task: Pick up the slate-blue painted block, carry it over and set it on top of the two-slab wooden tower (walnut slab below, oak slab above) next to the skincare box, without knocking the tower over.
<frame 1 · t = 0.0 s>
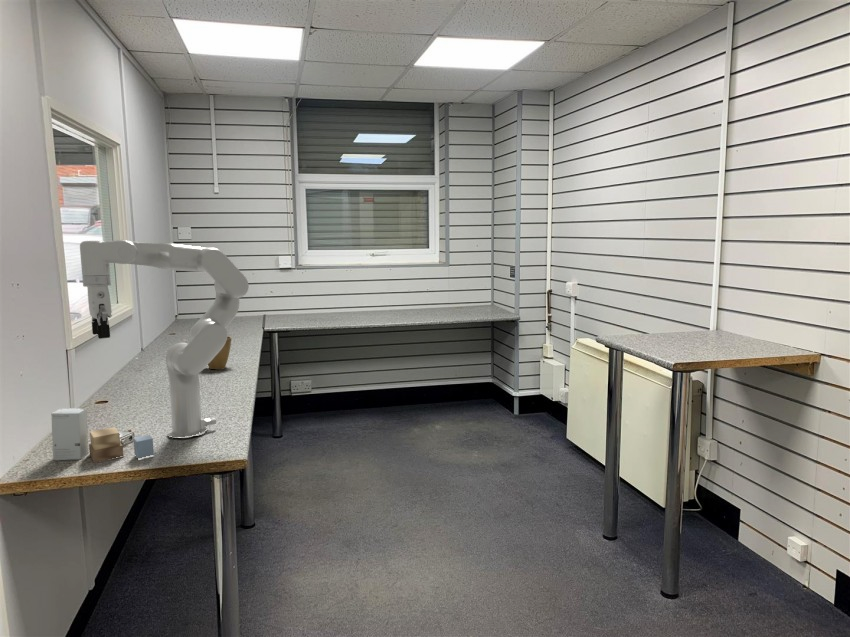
hand: (101, 335, 185), 37 cm above the table, tool pointing down, fingers open, 9 cm apart
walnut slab: (106, 457, 184), on the table, touching oak slab
blue block: (144, 456, 183), on the table
skincare box: (72, 457, 184), on the table
oak slab: (105, 444, 184), point 4 cm above the table, touching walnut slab
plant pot: (217, 368, 306), on the table
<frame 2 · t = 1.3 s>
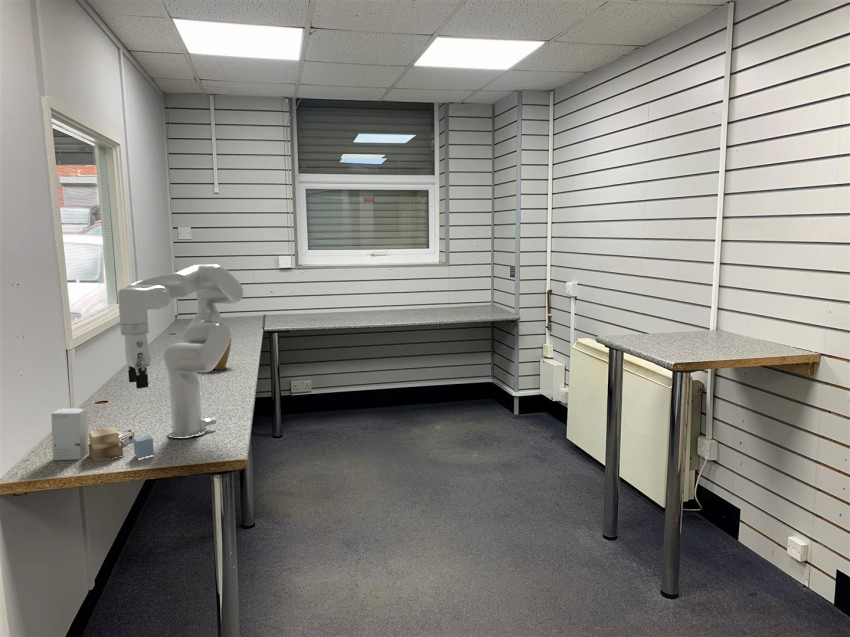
hand: (138, 384, 180), 23 cm above the table, tool pointing down, fingers open, 9 cm apart
nothing on the table moved.
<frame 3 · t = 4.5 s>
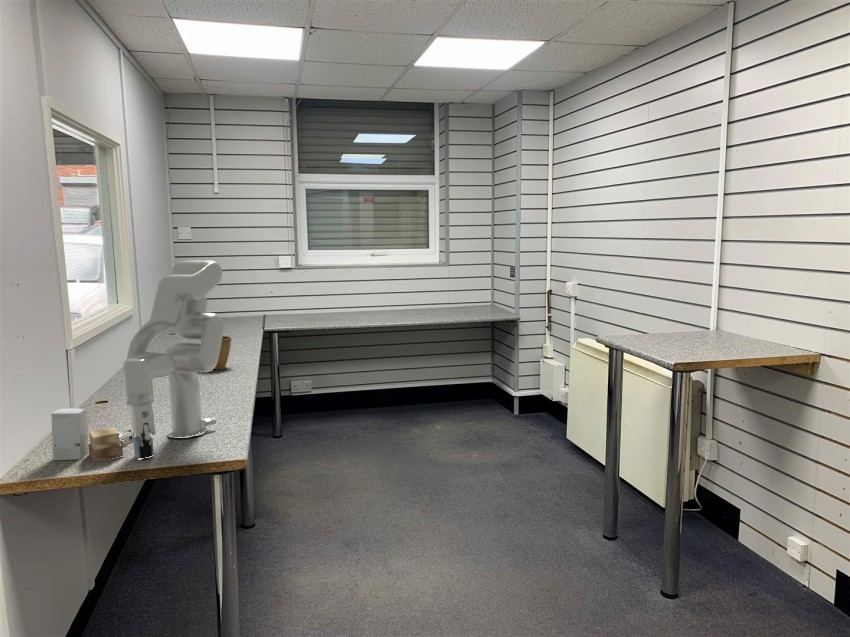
hand: (144, 454, 183), 1 cm above the table, tool pointing down, fingers closed on blue block, 4 cm apart
blue block: (144, 456, 183), on the table, touching gripper
everything else where it was.
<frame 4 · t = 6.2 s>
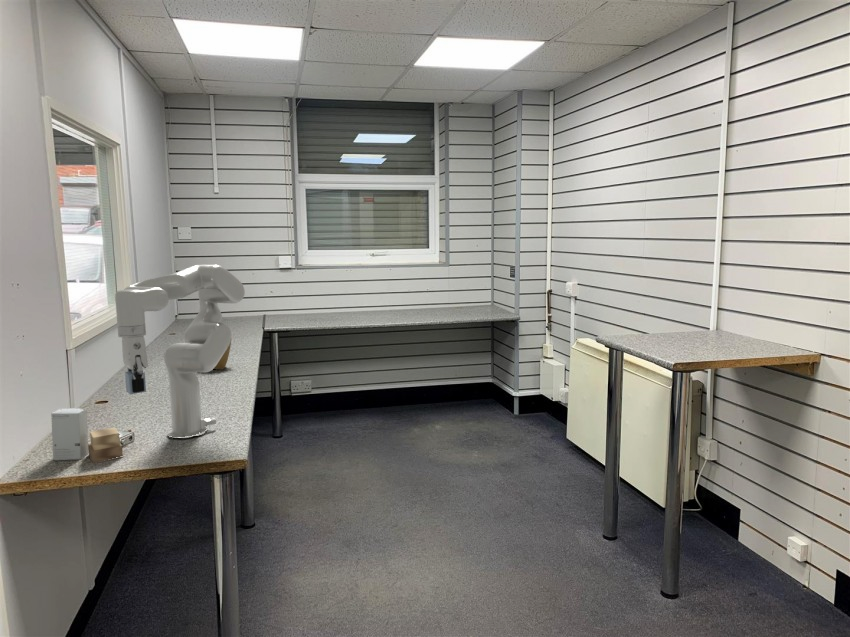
hand: (136, 389, 180), 21 cm above the table, tool pointing down, fingers closed on blue block, 4 cm apart
blue block: (136, 391, 180), point 21 cm above the table, touching gripper
everything else where it was.
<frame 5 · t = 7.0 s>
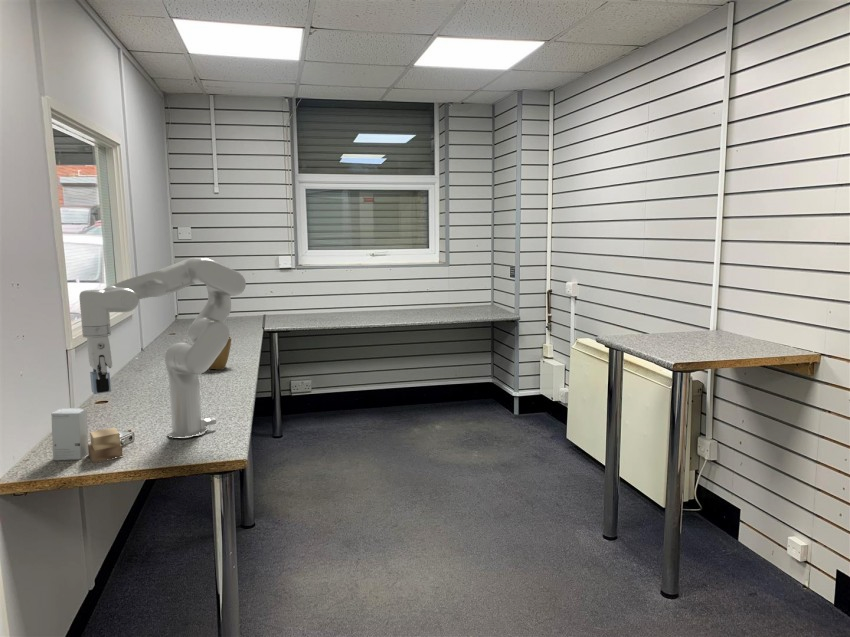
hand: (101, 389, 181), 21 cm above the table, tool pointing down, fingers closed on blue block, 4 cm apart
blue block: (101, 391, 181), point 21 cm above the table, touching gripper
everything else where it was.
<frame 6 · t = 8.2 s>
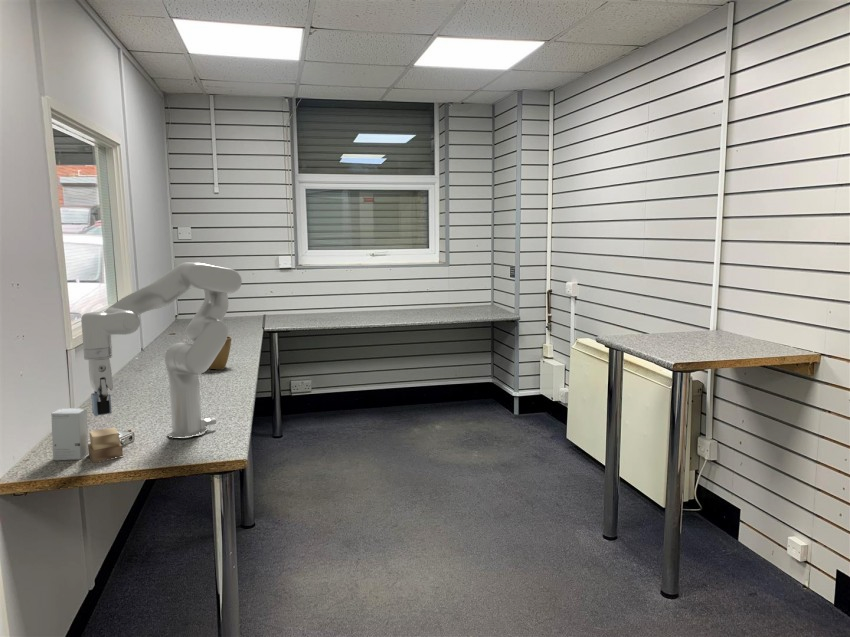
hand: (102, 411, 182), 14 cm above the table, tool pointing down, fingers closed on blue block, 4 cm apart
blue block: (102, 413, 182), point 14 cm above the table, touching gripper
everything else where it was.
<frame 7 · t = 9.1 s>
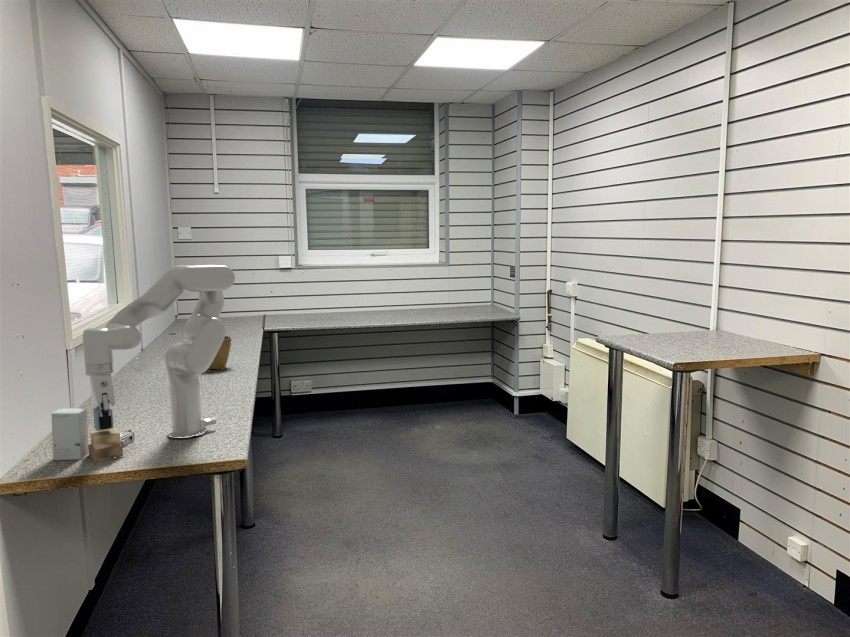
hand: (104, 425, 183), 10 cm above the table, tool pointing down, fingers closed on blue block, 4 cm apart
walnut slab: (106, 456, 184), on the table
blue block: (104, 427, 183), point 9 cm above the table, touching gripper
oak slab: (106, 444, 184), point 4 cm above the table
everything else where it was.
when the fingers open (9 cm above the table, at t = 9.9 s): blue block drops 1 cm, resting on oak slab.
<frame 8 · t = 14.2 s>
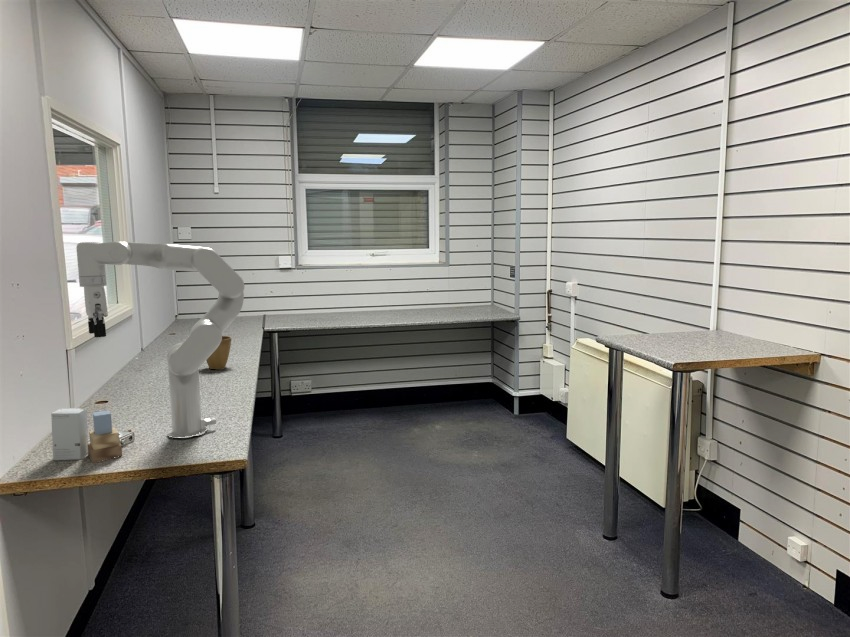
hand: (97, 334, 190), 36 cm above the table, tool pointing down, fingers open, 9 cm apart
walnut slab: (105, 456, 184), on the table, touching oak slab
blue block: (103, 431, 183), point 8 cm above the table, touching oak slab
oak slab: (104, 444, 184), point 4 cm above the table, touching blue block, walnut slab
everything else where it was.
at the end: blue block 0.2 cm off-centre on the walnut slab, point 8.0 cm above the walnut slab's base; blue block tilted 0°; oak slab moved 0.6 cm from its start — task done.
